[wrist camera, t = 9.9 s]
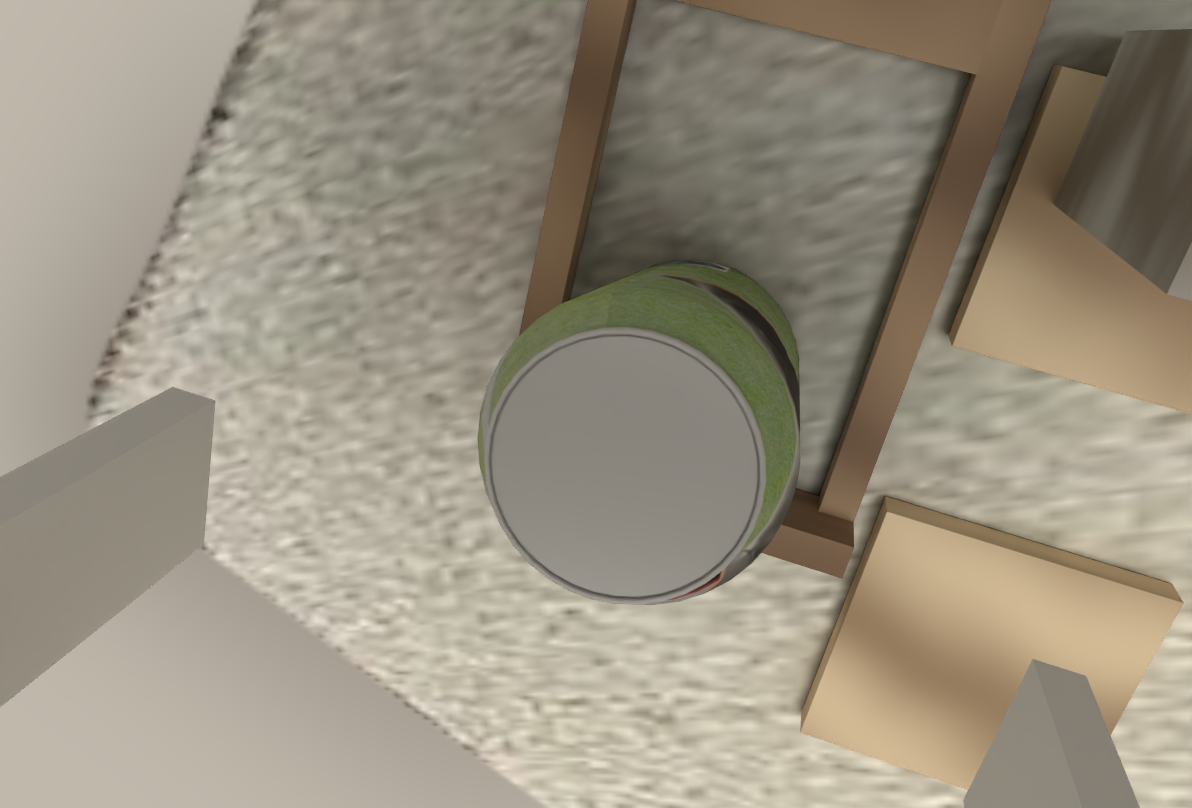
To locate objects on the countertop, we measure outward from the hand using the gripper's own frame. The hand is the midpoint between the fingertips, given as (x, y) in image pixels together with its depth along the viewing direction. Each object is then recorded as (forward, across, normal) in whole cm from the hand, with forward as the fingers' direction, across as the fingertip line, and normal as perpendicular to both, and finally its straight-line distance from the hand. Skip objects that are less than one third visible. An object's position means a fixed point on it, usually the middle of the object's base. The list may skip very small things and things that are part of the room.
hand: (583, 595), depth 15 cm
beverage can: (+14, 0, 0) cm, 14 cm away
